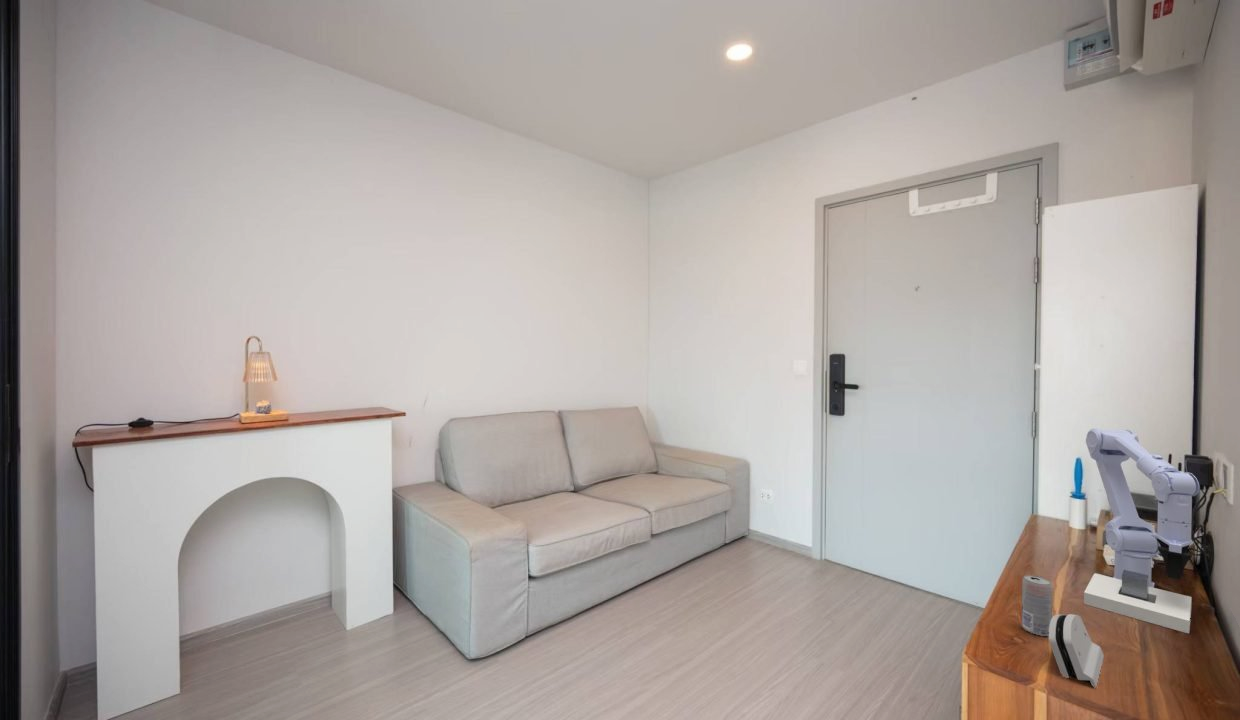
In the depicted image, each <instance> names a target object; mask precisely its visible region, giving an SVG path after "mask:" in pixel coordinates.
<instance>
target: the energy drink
mask: <svg viewBox="0 0 1240 720" xmlns="http://www.w3.org/2000/svg"><path fill="white" fill-rule="evenodd" d="M1021 587H1022V588H1021V589H1022V590H1021V591H1022V592H1021V594H1022V595H1021V599H1022V600H1021V627H1022V628H1023V630H1025V632H1027V631H1028V632H1027V633H1029V632H1030V634H1032V633H1033V634H1032V635H1034V634H1036V635H1035V636H1038V635H1040V636H1039V637H1043V636H1047V637H1049V625H1050V621H1051V619H1052V617H1053V584H1052V581H1051V580H1050V579H1048V578H1045V577H1042V576H1038V575H1033V574H1025V575H1024V576H1023V579H1022V585H1021Z"/></svg>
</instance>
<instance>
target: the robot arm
mask: <svg viewBox="0 0 1240 720" xmlns="http://www.w3.org/2000/svg"><path fill="white" fill-rule="evenodd" d="M1085 443H1086V446H1087V450H1088V453H1089V455H1090V458H1091V459H1093V460H1094V461H1095V463H1096V466H1097V469H1098V472H1099V476H1100V479H1101V482H1102V484H1103V488H1104V492H1105V494H1106V498H1107V500H1108V503H1109V507H1110V509H1111V512H1112V516H1113V518H1112V519H1111V520H1110V521H1107V522H1106V523H1105V525H1104V529H1105V541H1106V543H1107V545H1108V546H1109V548H1110V549H1111V550H1113V551H1114V573H1113V576H1112V578H1116V579H1120V580H1122V573H1123V571H1124V570H1127V571H1132V572H1136V573H1140V574H1145V575H1149V587H1153V588H1155V582H1154V581H1152V559H1156V555H1159V554H1160V555H1161V558H1162V560H1163V563H1164V567H1165V572H1166V574H1167V577H1168V578H1170V579H1175V580H1178V581H1179V580H1181V579H1182V577H1183V574H1184V570H1185V567H1186V565H1187V563H1188V561H1190V559H1191V558H1193V554H1192V553H1190V552H1189V553H1188V552H1186V551H1187V550H1188V549H1189V548H1190V545H1193V539H1192V519H1193V518H1192V516H1193V513H1192V512H1193V508H1192V507H1193V506H1192V505H1193V497H1196V496H1197V495H1198V494H1199V493H1200V483H1199V482H1200V481H1198V479H1197V477H1196V476H1195V475H1194V473H1192V472H1187V471H1182V470H1178V469H1177V468H1176V467H1175V466H1173V465H1172V464H1171V463H1169V462H1168V460H1166V459H1164V457H1163V456H1162V455H1161V454H1155V453H1154V454H1153V453H1152V454H1151V453H1150V452H1149V451H1147V450H1146V448H1145V447H1143V445H1141V444H1140V441H1139V437H1138V435H1137V434H1135V432H1134V430H1129V429H1124V430H1121V429H1119V430H1117V429H1100V428H1099V429H1098V428H1091V429H1089V431H1088V432H1087V433H1086V438H1085ZM1129 459H1132V460H1133V461H1134V462H1136V464H1135V465H1136V469H1137V470H1139V471H1140V473H1142V474H1143V475H1144V476H1146V477H1147V478H1148V479H1149V480H1150V481H1151V485H1152V488H1153V490H1154V497H1155V499H1156V500H1157V529H1156V530H1157V532H1156V531H1155V529H1154V526H1153V525H1152V524H1150V523H1149V522H1147V521H1145V520H1143V519H1142V518H1140V516H1139V513H1138V510H1137V508H1136V505H1135V502H1134V499H1133V497H1132V494H1131V491H1130V487H1129V486H1128V482H1127V479H1126V476H1125V473H1124V470H1123V467H1122V463H1123V462H1127V461H1128V460H1129Z"/></svg>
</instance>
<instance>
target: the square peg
mask: <svg viewBox="0 0 1240 720" xmlns="http://www.w3.org/2000/svg"><path fill="white" fill-rule="evenodd" d="M1148 594H1149V575H1145V574H1140V573H1136V572H1132V571H1127V570H1124V571H1123V573H1122V595H1124V596H1128V597H1132V598H1136V599H1140V600H1143V601H1147V602H1148Z"/></svg>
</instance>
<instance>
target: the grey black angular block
mask: <svg viewBox="0 0 1240 720" xmlns="http://www.w3.org/2000/svg"><path fill="white" fill-rule="evenodd" d="M1048 643H1049V645H1050V647H1051V650H1052V653H1053V656H1054V659H1055V662H1056V664H1057V667H1058V670H1059V672H1060V675H1061V674H1062V675H1064V676H1066V677H1068V678H1069V677H1070V678H1073V677H1074V678H1076V679H1077V680H1078V681H1090V684H1091V686H1094V687H1096V686H1097V682H1098V683H1099V681H1098V678H1099V679H1100V677H1099V674H1100V675H1101V672H1100V670H1101V671H1102V668H1101V666H1102V667H1103V662H1104V659H1105V655H1104V652H1103V649H1102V648H1101V646H1100V645H1098V644H1097V643H1094V642H1093V641H1092V639H1091V637H1090V635H1089V633H1088V631H1087V628H1086V626H1085V624H1084V622H1083V620H1082V617H1081V616H1080V615H1078V614H1072V613H1070V614H1069V613H1068V614H1065V613H1061V614H1060V613H1059V614H1055V615H1052V619H1051V621H1050V625H1049V636H1048ZM1097 687H1098V686H1097Z"/></svg>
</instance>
